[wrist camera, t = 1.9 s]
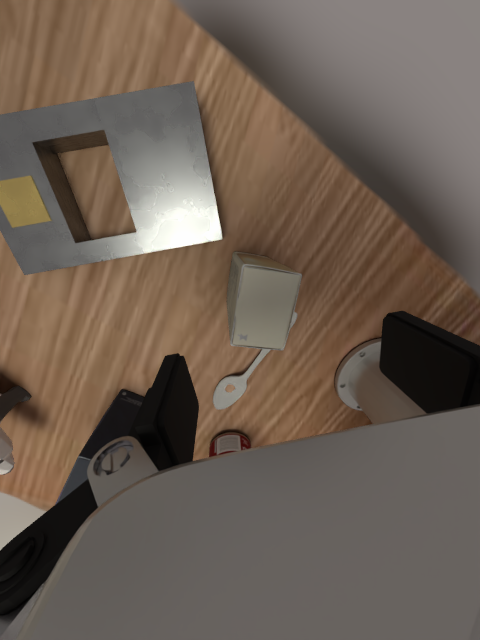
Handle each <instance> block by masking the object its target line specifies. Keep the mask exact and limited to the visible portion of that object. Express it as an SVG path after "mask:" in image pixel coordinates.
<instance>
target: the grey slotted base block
mask: <svg viewBox="0 0 480 640" xmlns="http://www.w3.org/2000/svg"><path fill="white" fill-rule="evenodd" d="M107 144H109V146H110V150H111V153H112V156H113V159H114V162H115V165H116V168H117V171H118V174H119V178H120V181H121V184H122V187H123V190H124V193H125V196H126V199H127V202H128V206H129V209H130V212H131V215H132V218H133V221H134V224H135V227H136V230H137V232H136V233H130V234H124V235H119V236H113V237H108V238H102V239H97V240H91V238H90V236H89V233H88V231H87V228H86V226H85V223H84V221H83V218H82V216H81V213H80V211H79V208H78V206H77V203H76V201H75V198H74V196H73V193H72V191H71V188H70V186H69V183H68V181H67V178H66V176H65V173H64V171H63V168H62V166H61V163H60V161H59V158H58V156H57V153H62V152H67V151H73V150H79V149H85V148H90V147H96V146H102V145H107ZM0 231H1V233H2V234H3V236H4V238H5V240H6V242H7V244H8V246H9V247H10V249H11V251H12V253H13V255H14V257H15V258H16V260H17V262H18V264H19V266H20V268H21V270H22V271H23V273H24V275H27V274H33V273H38V272H44V271H49V270H55V269H61V268H66V267H72V266H77V265H83V264H88V263H94V262H99V261H105V260H110V259H116V258H121V257H127V256H133V255H138V254H144V253H149V252H155V251H160V250H166V249H171V248H177V247H182V246H188V245H193V244H199V243H205V242H210V241H216V240H221V239H223V238H222V232H221V227H220V221H219V216H218V210H217V205H216V200H215V194H214V189H213V183H212V178H211V172H210V167H209V162H208V156H207V151H206V145H205V140H204V135H203V129H202V124H201V118H200V113H199V107H198V102H197V97H196V91H195V86H194V81H192V82H186V83H181V84H175V85H169V86H163V87H158V88H152V89H146V90H140V91H135V92H129V93H123V94H117V95H111V96H106V97H100V98H94V99H88V100H83V101H77V102H71V103H65V104H60V105H54V106H48V107H42V108H36V109H31V110H25V111H19V112H13V113H8V114H2V115H0Z"/></svg>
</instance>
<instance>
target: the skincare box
mask: <svg viewBox="0 0 480 640" xmlns="http://www.w3.org/2000/svg"><path fill="white" fill-rule="evenodd" d="M301 278H302V274H301V273H299V272H297V271H294V270H292V269H290V268H289V267H287V266H285V265H283V264H281V263H279V262H277V261H275V260H272V259H271V258H269V257H265V256H260V255H255V254H249V253H243V252H236V251H235V252H233V255H232V261H231V267H230V274H229V282H228V291H227V310H228V322H229V334H230V344H231V345H232V346H240V347H248V348H258V349H268V350H283V349H284V347H285V344H286V341H287V337H288V334H289V330H290V327H291V323H292V318H293V314H294V310H295V306H296V301H297V297H298V292H299V287H300V282H301Z"/></svg>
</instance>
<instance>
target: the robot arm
mask: <svg viewBox="0 0 480 640" xmlns="http://www.w3.org/2000/svg"><path fill="white" fill-rule="evenodd" d="M335 389H336V392H337V394H338V396H339V397H340V398H341V400H342V401H343V402H344V403H345V404H346V405H347V406H349V407H351V408H353V409H356V410H361V411H363V412H364V413H365V414H366V415H367V417H368V418H369V419H370V421H371V422H372V423H373V424H371V425H366V426H361V427H356V428H350V429H345V430H340V431H335V432H330V433H325V434H320V435H315V436H310V437H305V438H300V439H295V440H290V441H285V442H280V443H275V444H270V445H265V446H260V447H255V448H250V449H245V450H240V451H236V452H231V453H226V454H221V455H217V456H212V457H208V458H204V459H200V460H196V461H193V453H194V444H195V436H196V428H197V419H198V411H199V404H198V399H197V396H196V393H195V390H194V387H193V383H192V380H191V377H190V374H189V371H188V367H187V364H186V361H185V358H184V356H180V355H179V354H178V353H177V354H172V355H167V356H165V358H164V360H163V362H162V365H161V367H160V369H159V372H158V374H157V376H156V378H155V381H154V383H153V385H152V387H151V388H149V389H148V391H147V393H146V395H145V398H144V400H143V402H142V404H141V407H140V409H139V411H138V413H137V415H136V418H135V420H134V422H133V424H132V427H131V429H130V431H129V433H128V436H125V437H120V438H117V439H115V440H113V441H111V442H109V443H108V444H106V445H105V446H104V447H102V448H101V449H100V450H99V451H98V452H97V453H96V454H95V455H94V457H93V458H92V460H91V462H90V463H89V466H88V469H87V476H88V479H87V480H86V481H85V482H83V483H82V484H81V485H80V486H78V487H77V488H76V489H75V490H73V491H72V492H71V493H70V494H68V495H67V496H66V497H65V498H63V499H62V500H61V501H60V502H58V503H57V504H56V505H55V506H53V507H52V508H51V509H50V510H48V511H47V512H46V513H45V514H43V515H42V516H41V517H40V518H38V519H37V520H36V521H35V522H33V523H32V524H31V525H30V526H28V527H27V528H26V529H25V530H23V531H22V532H21V533H20V534H18V535H17V536H16V537H15V538H13V539H12V540H11V541H10V542H9V543H8V544H7V545H6V546H5V547H3V548H2V550H1V551H0V640H480V346H479V345H477V344H475V343H472V342H470V341H468V340H466V339H464V338H461V337H459V336H457V335H455V334H453V333H450V332H448V331H446V330H444V329H442V328H439V327H437V326H435V325H433V324H431V323H429V322H426V321H424V320H422V319H420V318H418V317H415V316H413V315H411V314H409V313H407V312H404V311H398V312H393V313H388V314H387V316H386V317H385V318H384V319H383V327H382V338H379V339H374V340H371V341H368V342H366V343H364V344H362V345H360V346H358V347H357V348H355V349H354V350H353V351H351V352H350V353H349V354H348V355H347V356H346V357H345V358H344V360H343V361H342V363H341V364H340V366H339V368H338V370H337V372H336V376H335Z"/></svg>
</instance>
